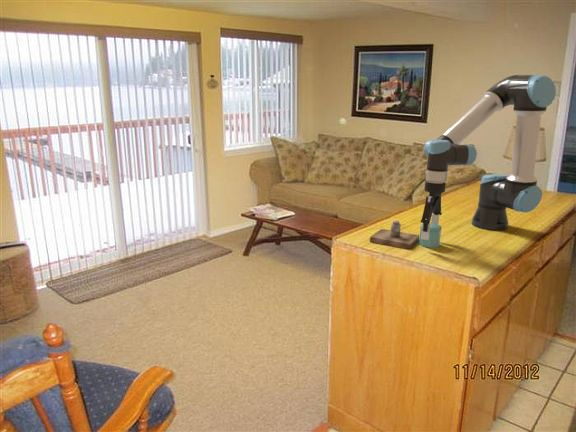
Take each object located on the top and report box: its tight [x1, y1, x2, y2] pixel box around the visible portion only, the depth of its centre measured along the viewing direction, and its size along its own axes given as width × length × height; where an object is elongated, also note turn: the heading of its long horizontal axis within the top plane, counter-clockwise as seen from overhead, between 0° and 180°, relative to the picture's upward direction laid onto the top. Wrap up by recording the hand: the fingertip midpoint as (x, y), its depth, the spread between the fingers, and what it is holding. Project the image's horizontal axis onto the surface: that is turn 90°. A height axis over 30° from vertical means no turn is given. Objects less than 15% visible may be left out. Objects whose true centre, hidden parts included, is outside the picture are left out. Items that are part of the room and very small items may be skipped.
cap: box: [418, 223, 442, 249], centre depth 189 cm, size 8×8×8 cm
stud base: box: [369, 220, 420, 250], centre depth 192 cm, size 16×13×8 cm
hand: (429, 234), depth 188 cm, fingers open, 13 cm apart
